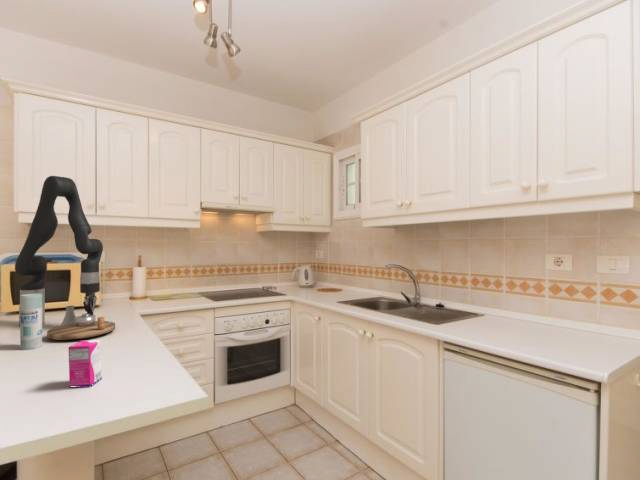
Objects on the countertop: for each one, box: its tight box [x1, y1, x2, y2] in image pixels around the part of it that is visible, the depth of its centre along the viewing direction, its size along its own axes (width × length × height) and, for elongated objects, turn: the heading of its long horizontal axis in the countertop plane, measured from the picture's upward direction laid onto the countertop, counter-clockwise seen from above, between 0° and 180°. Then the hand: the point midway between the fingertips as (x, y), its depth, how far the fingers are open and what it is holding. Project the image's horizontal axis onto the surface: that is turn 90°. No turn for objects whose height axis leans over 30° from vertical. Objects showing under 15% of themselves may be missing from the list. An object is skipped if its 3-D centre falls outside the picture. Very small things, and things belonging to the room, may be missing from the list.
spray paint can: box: [19, 293, 43, 351], centre depth 130 cm, size 6×6×20 cm
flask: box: [60, 305, 77, 326], centre depth 160 cm, size 7×7×10 cm
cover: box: [76, 312, 96, 327], centre depth 152 cm, size 7×7×5 cm
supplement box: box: [68, 339, 103, 387], centre depth 96 cm, size 6×6×12 cm
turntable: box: [46, 316, 116, 341], centre depth 147 cm, size 24×24×7 cm
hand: (90, 319), depth 158 cm, fingers closed
